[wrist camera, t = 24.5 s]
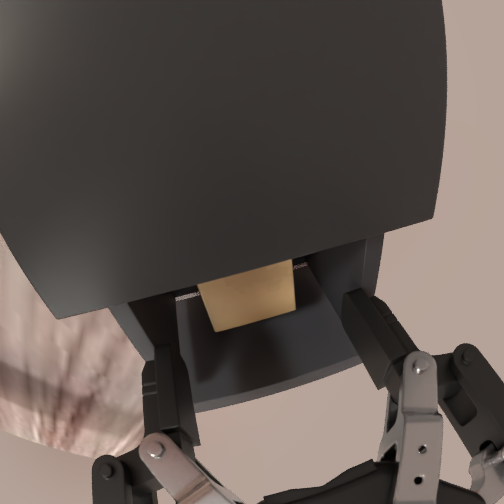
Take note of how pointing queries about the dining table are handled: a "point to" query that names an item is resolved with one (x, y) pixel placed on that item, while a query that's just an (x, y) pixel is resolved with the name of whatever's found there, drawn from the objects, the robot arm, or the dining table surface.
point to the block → (249, 296)
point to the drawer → (260, 331)
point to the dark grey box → (210, 136)
